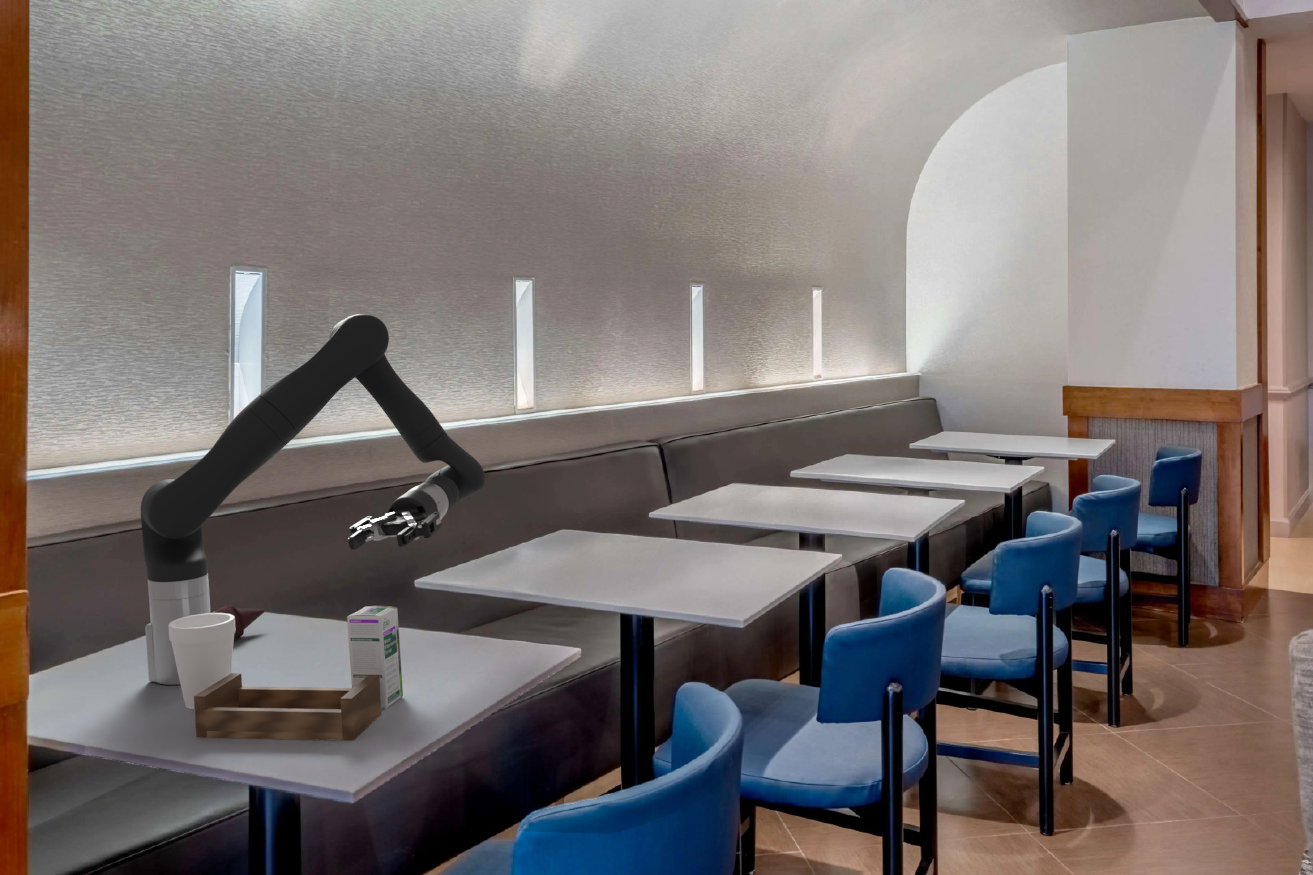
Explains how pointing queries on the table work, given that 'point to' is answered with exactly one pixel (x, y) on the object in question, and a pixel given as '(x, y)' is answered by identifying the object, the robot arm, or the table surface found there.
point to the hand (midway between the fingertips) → (375, 542)
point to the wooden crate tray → (286, 710)
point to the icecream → (241, 617)
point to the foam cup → (202, 651)
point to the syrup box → (376, 650)
